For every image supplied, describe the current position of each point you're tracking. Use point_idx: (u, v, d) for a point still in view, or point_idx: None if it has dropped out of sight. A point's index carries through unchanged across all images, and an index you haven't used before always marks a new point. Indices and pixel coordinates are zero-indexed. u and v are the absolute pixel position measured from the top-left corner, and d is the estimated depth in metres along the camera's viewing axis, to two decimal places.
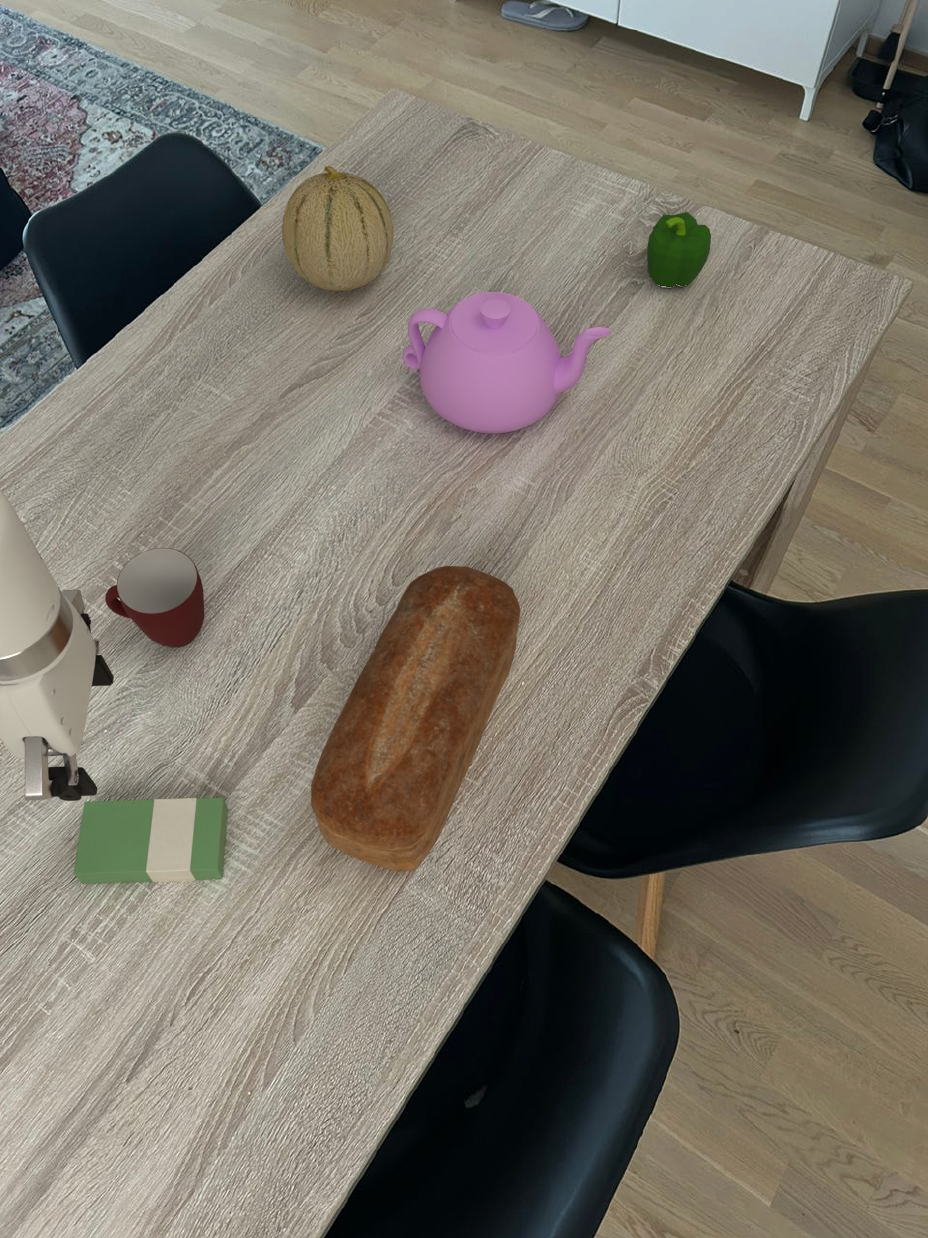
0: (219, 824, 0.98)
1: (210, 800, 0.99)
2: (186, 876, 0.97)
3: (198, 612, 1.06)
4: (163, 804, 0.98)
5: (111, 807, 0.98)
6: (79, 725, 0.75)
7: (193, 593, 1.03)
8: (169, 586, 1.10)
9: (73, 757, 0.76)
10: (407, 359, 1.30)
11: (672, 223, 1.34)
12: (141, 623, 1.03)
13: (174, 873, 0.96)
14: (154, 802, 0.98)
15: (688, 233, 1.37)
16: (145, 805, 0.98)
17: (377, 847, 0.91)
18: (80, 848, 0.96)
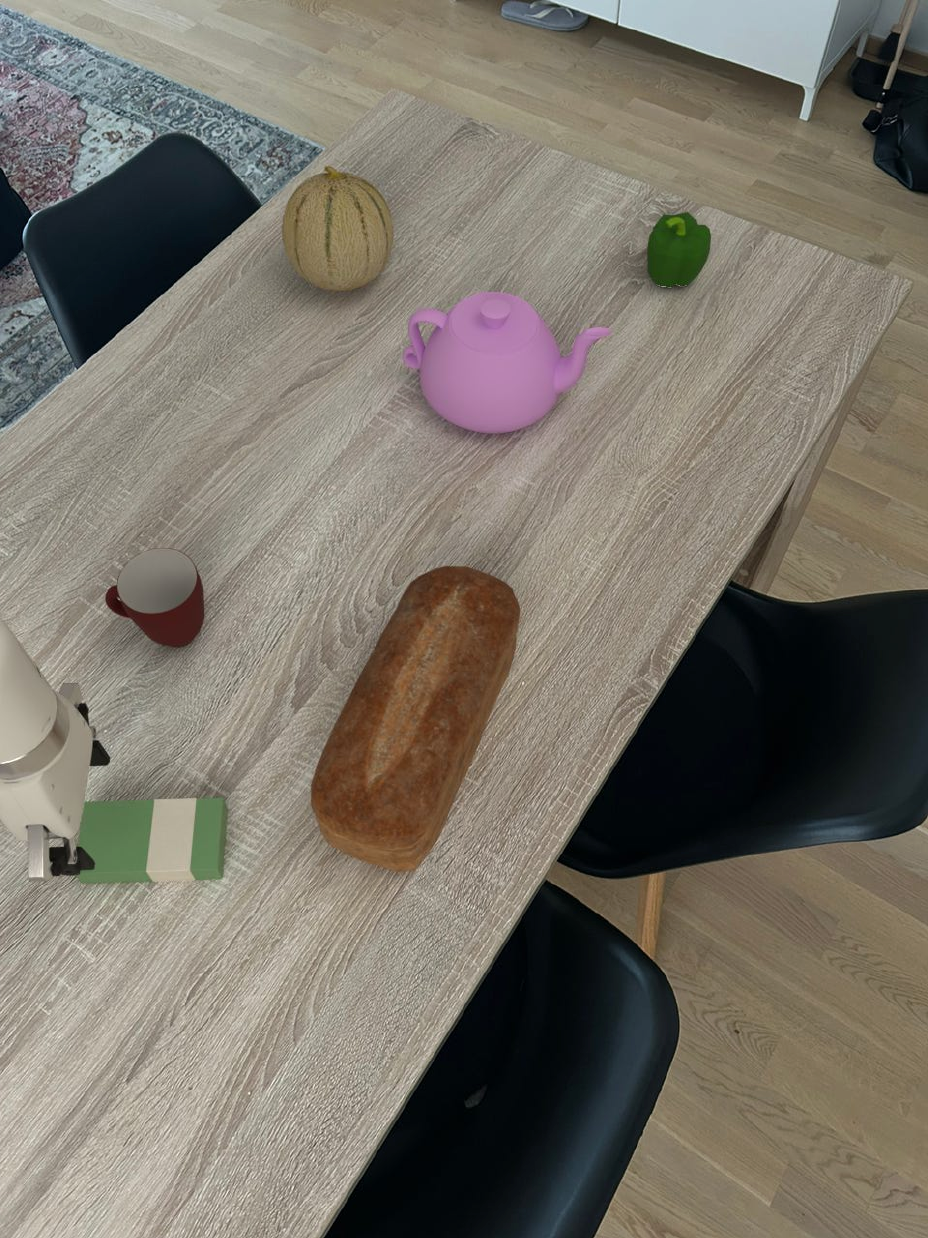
0: (219, 824, 0.98)
1: (210, 800, 0.99)
2: (186, 876, 0.97)
3: (198, 612, 1.06)
4: (163, 804, 0.98)
5: (111, 807, 0.98)
6: (77, 811, 0.83)
7: (193, 593, 1.03)
8: (169, 586, 1.10)
9: (72, 839, 0.84)
10: (407, 359, 1.30)
11: (672, 223, 1.34)
12: (141, 623, 1.03)
13: (174, 873, 0.96)
14: (154, 802, 0.98)
15: (688, 233, 1.37)
16: (145, 805, 0.98)
17: (377, 847, 0.91)
18: None
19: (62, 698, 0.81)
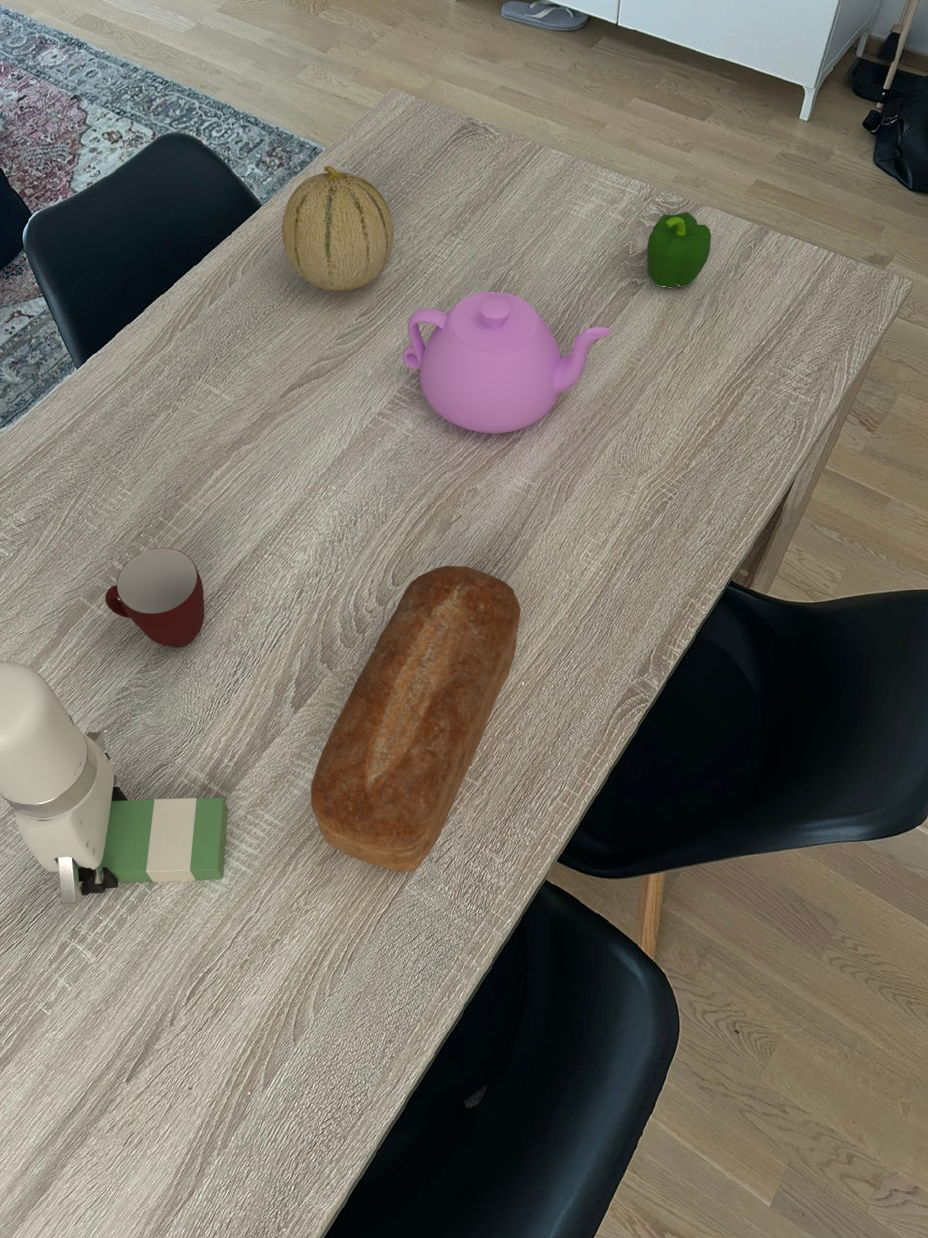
0: (219, 824, 0.98)
1: (210, 800, 0.99)
2: (186, 876, 0.97)
3: (198, 612, 1.06)
4: (163, 804, 0.98)
5: (111, 807, 0.98)
6: (101, 843, 0.90)
7: (193, 593, 1.03)
8: (169, 586, 1.10)
9: None
10: (407, 359, 1.30)
11: (672, 223, 1.34)
12: (141, 623, 1.03)
13: (174, 873, 0.96)
14: (154, 802, 0.98)
15: (688, 233, 1.37)
16: (145, 805, 0.98)
17: (377, 847, 0.91)
18: None
19: (89, 740, 0.88)
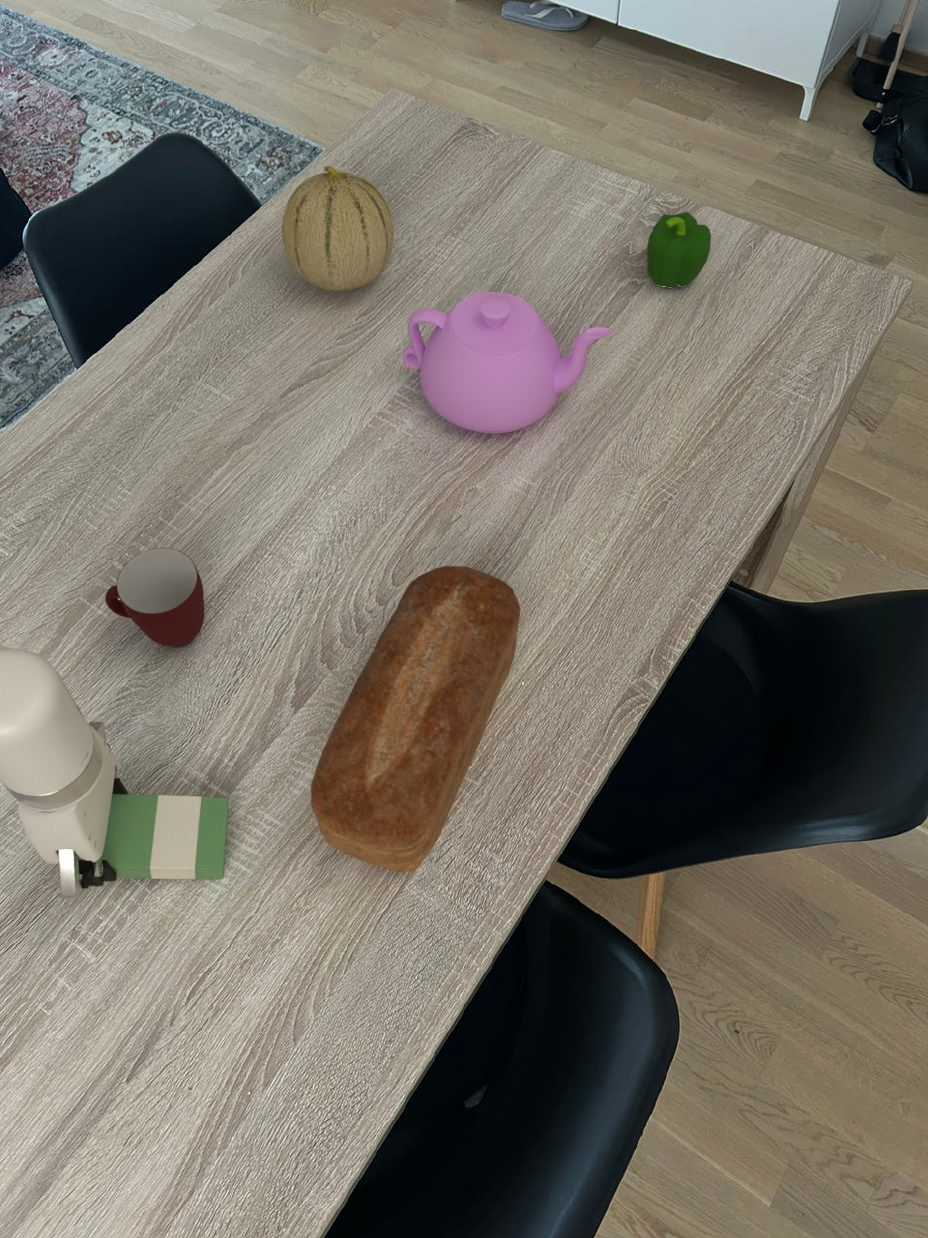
0: (224, 824, 0.98)
1: (215, 799, 0.99)
2: (188, 874, 0.96)
3: (198, 612, 1.06)
4: (167, 800, 0.98)
5: (113, 800, 0.97)
6: (102, 836, 0.88)
7: (193, 593, 1.03)
8: (169, 586, 1.10)
9: None
10: (407, 359, 1.30)
11: (672, 223, 1.34)
12: (141, 623, 1.03)
13: (177, 871, 0.95)
14: (158, 798, 0.98)
15: (688, 233, 1.37)
16: (149, 800, 0.97)
17: (377, 847, 0.91)
18: None
19: (93, 730, 0.86)
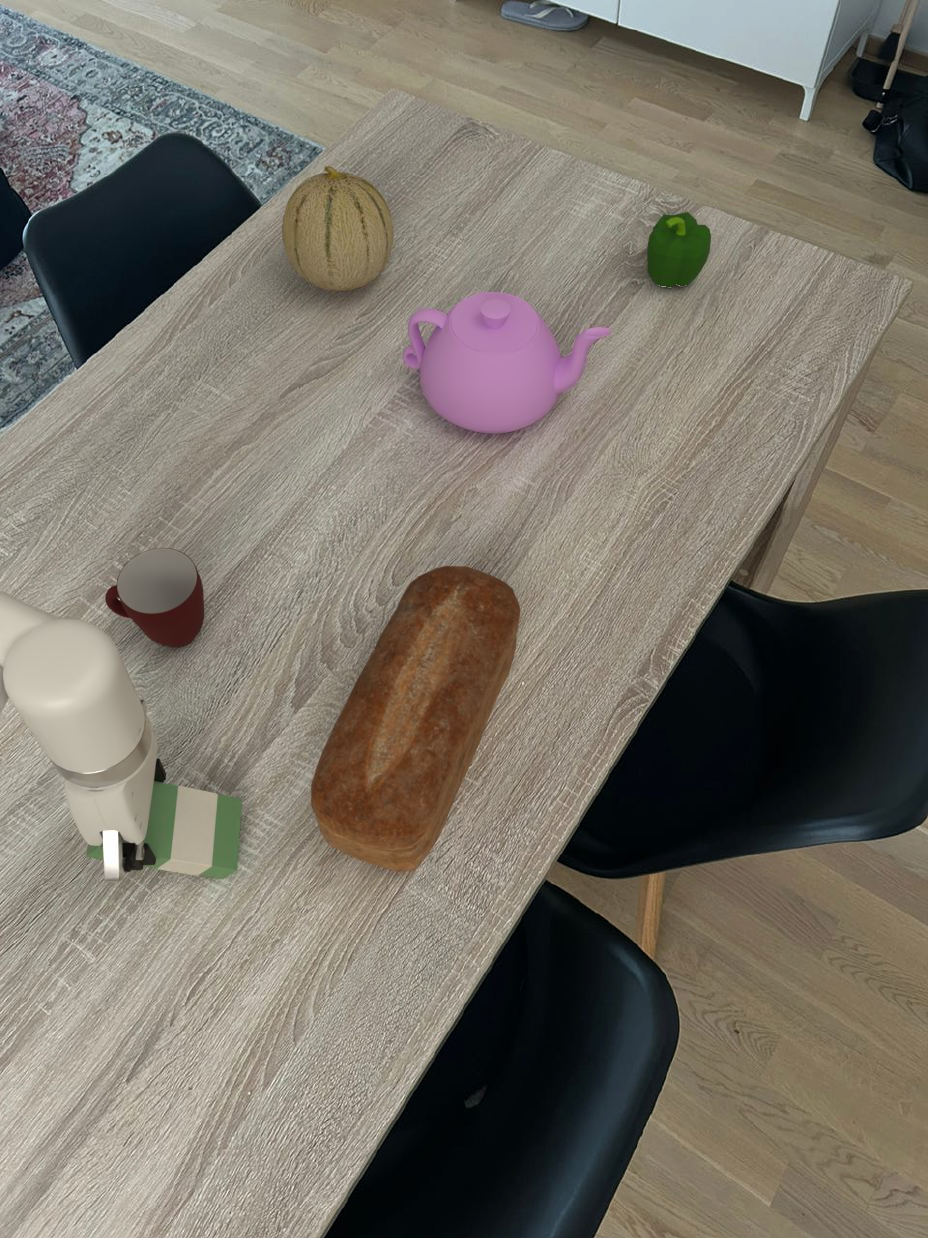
0: (238, 825, 0.98)
1: (230, 799, 0.99)
2: (198, 870, 0.95)
3: (198, 612, 1.06)
4: (187, 793, 0.96)
5: None
6: (146, 817, 0.85)
7: (193, 593, 1.03)
8: (169, 586, 1.10)
9: None
10: (407, 359, 1.30)
11: (672, 223, 1.34)
12: (141, 623, 1.03)
13: (191, 866, 0.94)
14: (178, 789, 0.96)
15: (688, 233, 1.37)
16: (169, 789, 0.95)
17: (377, 847, 0.91)
18: None
19: None
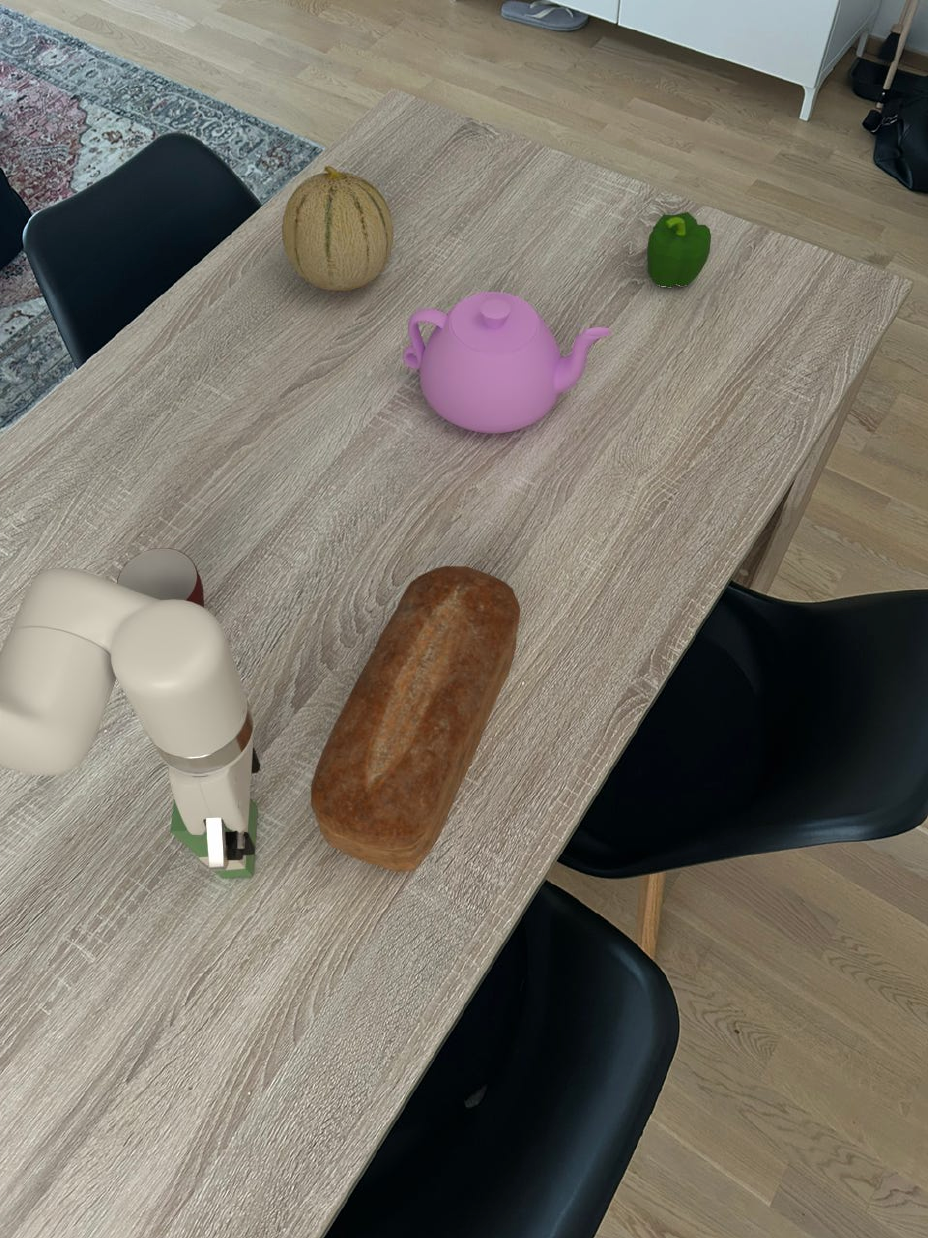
0: (255, 832, 1.00)
1: (253, 803, 1.00)
2: None
3: None
4: None
5: None
6: (247, 805, 0.84)
7: (193, 593, 1.03)
8: (169, 586, 1.10)
9: None
10: (407, 359, 1.30)
11: (672, 223, 1.34)
12: None
13: (229, 863, 0.94)
14: None
15: (688, 233, 1.37)
16: None
17: (377, 847, 0.91)
18: None
19: None
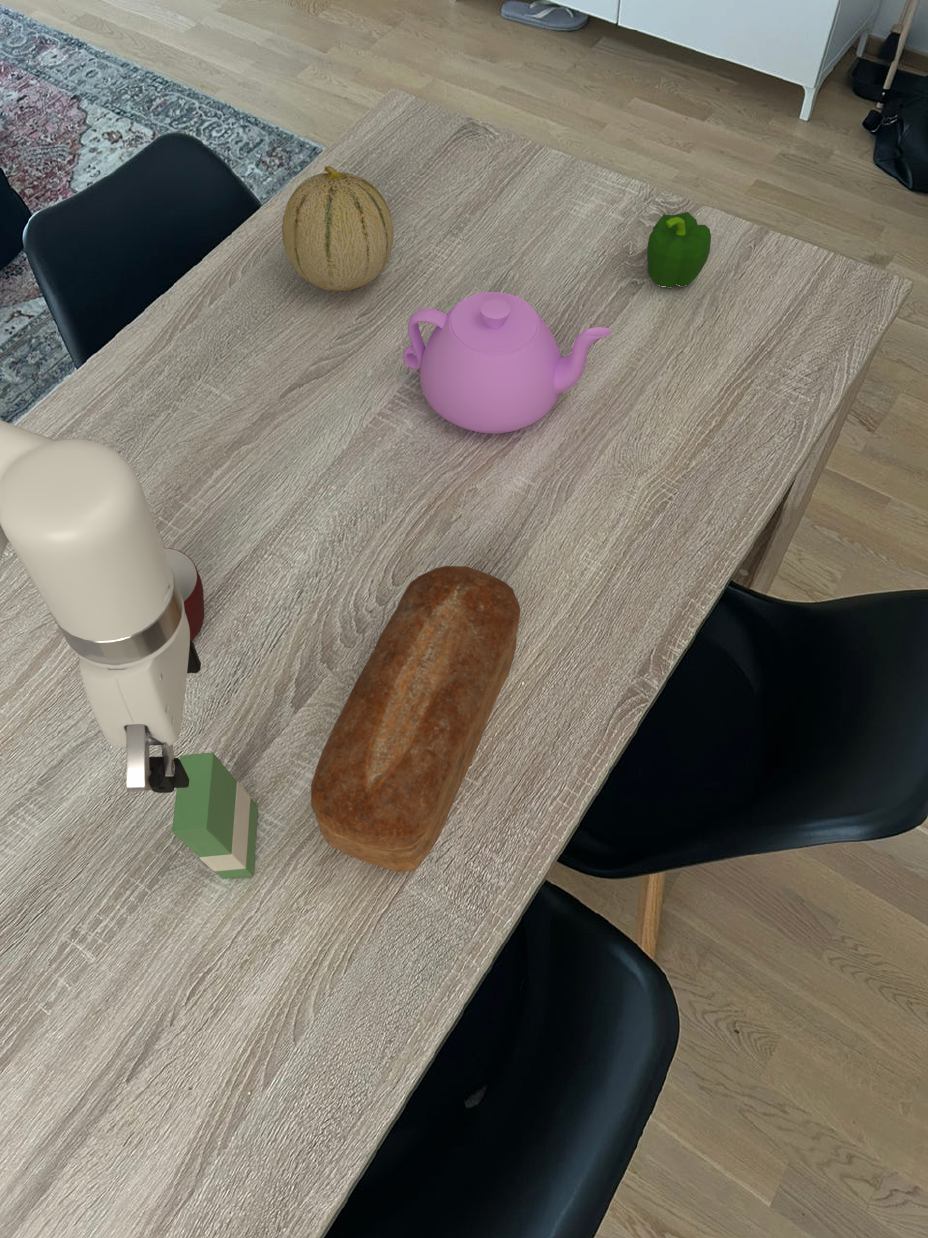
0: (255, 832, 1.00)
1: (254, 804, 1.00)
2: (226, 868, 0.95)
3: (198, 612, 1.06)
4: (240, 790, 0.96)
5: (222, 771, 0.92)
6: (179, 713, 0.71)
7: (193, 593, 1.03)
8: None
9: (171, 747, 0.72)
10: (407, 359, 1.30)
11: (672, 223, 1.34)
12: None
13: (230, 863, 0.94)
14: (237, 784, 0.96)
15: (688, 233, 1.37)
16: (234, 783, 0.95)
17: (377, 847, 0.91)
18: (210, 803, 0.88)
19: None
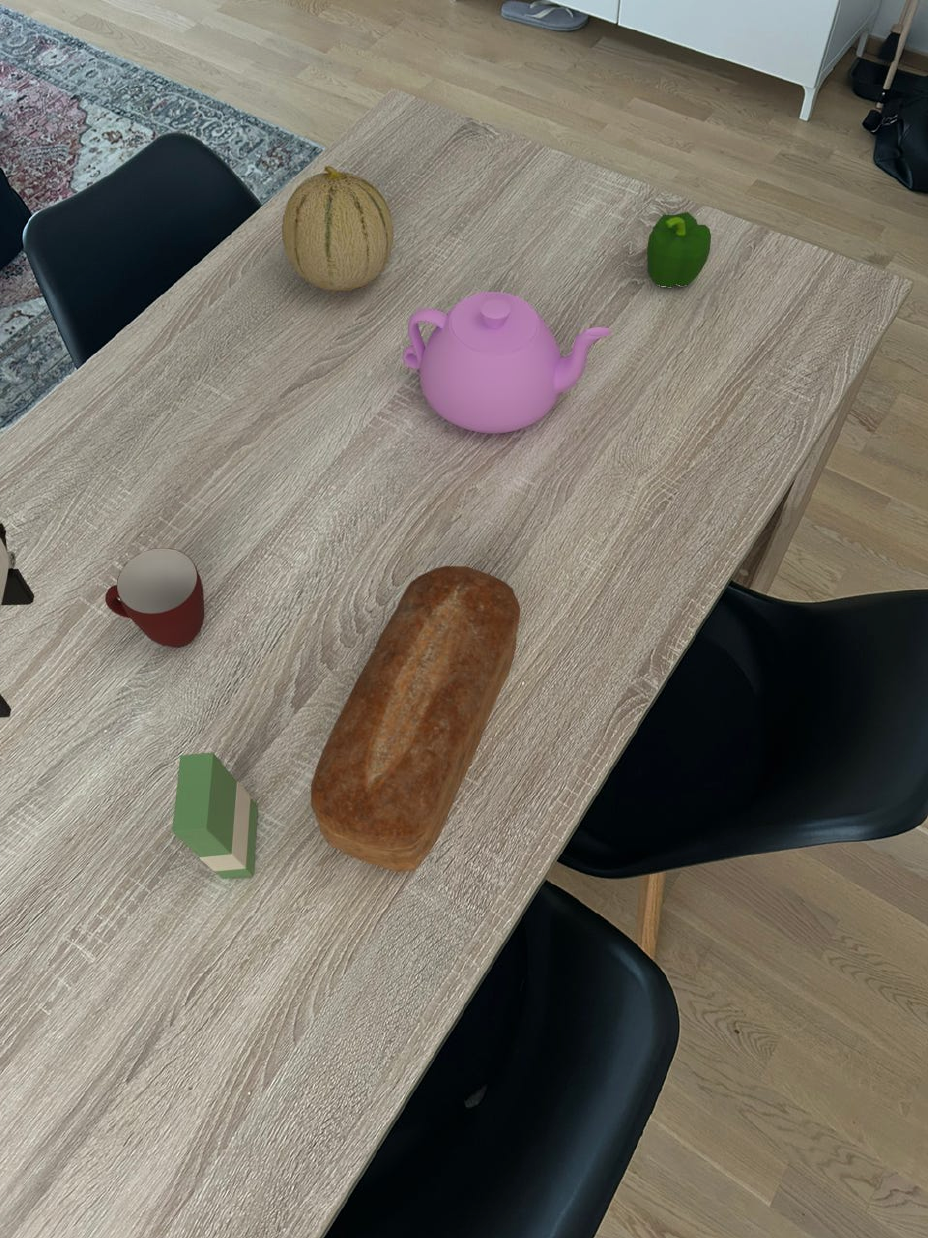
0: (255, 832, 1.00)
1: (254, 804, 1.00)
2: (226, 868, 0.95)
3: (198, 612, 1.06)
4: (240, 790, 0.96)
5: (222, 771, 0.92)
6: None
7: (193, 593, 1.03)
8: (169, 586, 1.10)
9: None
10: (407, 359, 1.30)
11: (672, 223, 1.34)
12: (141, 623, 1.03)
13: (230, 863, 0.94)
14: (237, 784, 0.96)
15: (688, 233, 1.37)
16: (234, 783, 0.95)
17: (377, 847, 0.91)
18: (210, 803, 0.88)
19: None
